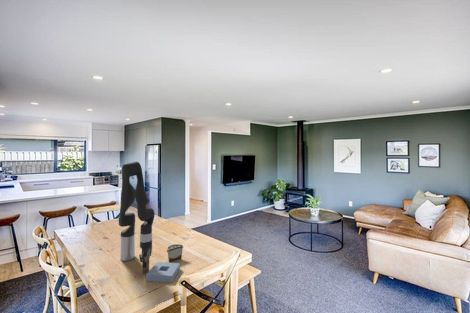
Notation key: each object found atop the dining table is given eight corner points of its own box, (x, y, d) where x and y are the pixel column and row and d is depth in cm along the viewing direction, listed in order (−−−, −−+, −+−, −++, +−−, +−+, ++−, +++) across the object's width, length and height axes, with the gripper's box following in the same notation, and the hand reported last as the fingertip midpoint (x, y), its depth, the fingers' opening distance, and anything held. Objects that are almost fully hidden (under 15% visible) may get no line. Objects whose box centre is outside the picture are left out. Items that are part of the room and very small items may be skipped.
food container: (179, 255, 176) (179, 242, 175) (183, 258, 171) (183, 245, 171) (163, 260, 167) (163, 246, 167) (167, 263, 163) (167, 249, 163)
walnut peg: (144, 270, 153) (144, 252, 153) (150, 270, 153) (150, 252, 153) (141, 273, 149) (141, 254, 149) (147, 273, 149) (147, 255, 149)
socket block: (156, 267, 157) (157, 261, 157) (180, 269, 156) (180, 263, 156) (146, 280, 141) (146, 274, 141) (171, 282, 140) (171, 275, 140)
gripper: (145, 235, 158) (145, 260, 159) (135, 243, 144) (134, 270, 144) (156, 235, 158) (155, 260, 158) (146, 244, 143) (146, 271, 144)
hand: (145, 265), depth 151 cm, fingers closed on walnut peg, 4 cm apart
